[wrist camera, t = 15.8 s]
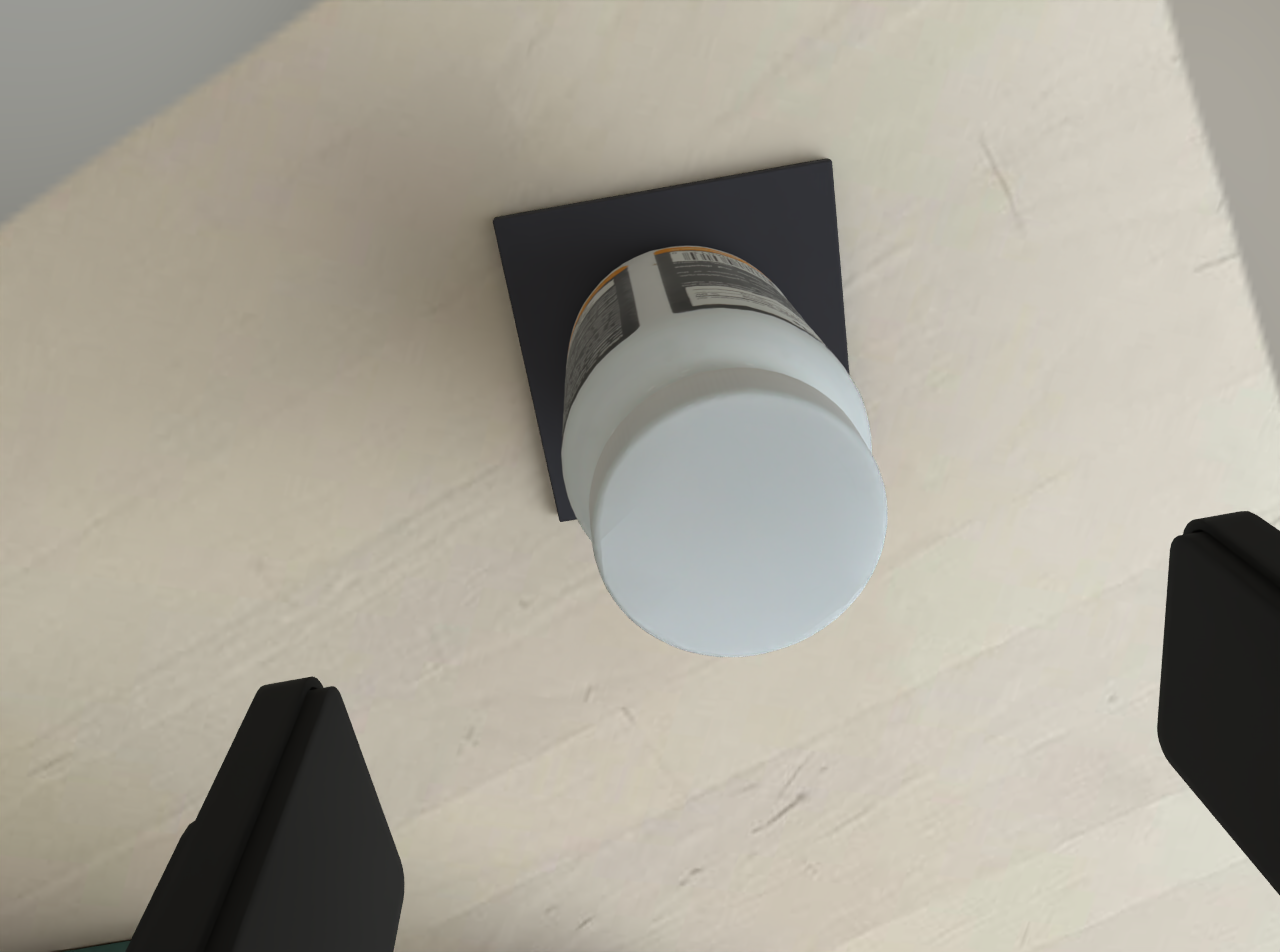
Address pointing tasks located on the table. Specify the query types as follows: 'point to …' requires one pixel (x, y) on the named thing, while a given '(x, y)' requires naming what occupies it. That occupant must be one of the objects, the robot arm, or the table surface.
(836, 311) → the mat
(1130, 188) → the table surface
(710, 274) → the pill bottle
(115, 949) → the green square frame
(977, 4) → the table surface
